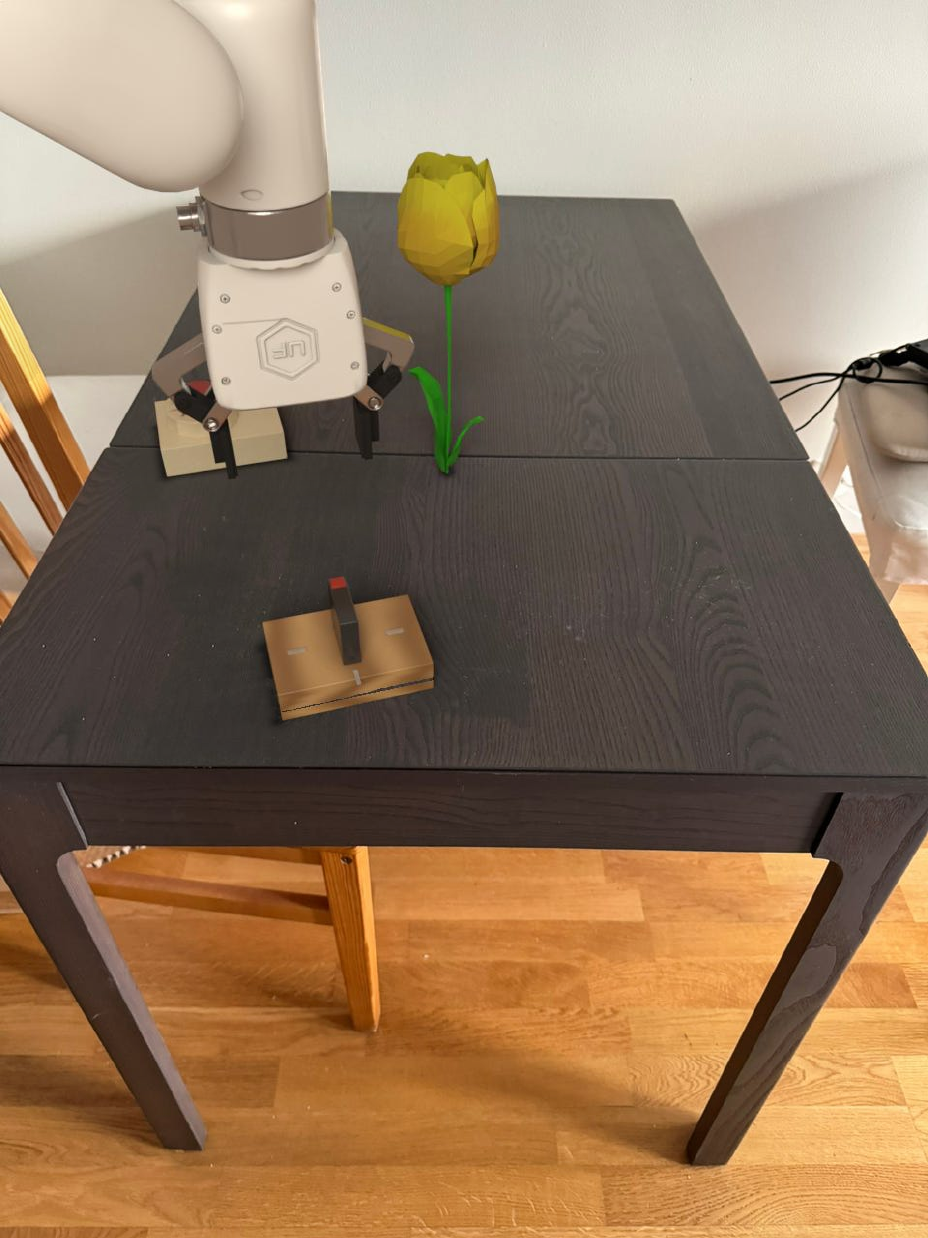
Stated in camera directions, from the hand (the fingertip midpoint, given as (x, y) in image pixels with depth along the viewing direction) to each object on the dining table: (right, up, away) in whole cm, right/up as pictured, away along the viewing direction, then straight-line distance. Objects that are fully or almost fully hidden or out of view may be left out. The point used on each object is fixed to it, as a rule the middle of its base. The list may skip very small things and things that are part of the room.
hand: (298, 458), depth 67 cm
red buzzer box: (-13, +7, +30) cm, 33 cm away
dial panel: (+3, -16, +8) cm, 17 cm away
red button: (-14, +10, +26) cm, 31 cm away
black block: (+3, -13, +5) cm, 15 cm away
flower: (+10, +3, +27) cm, 29 cm away
